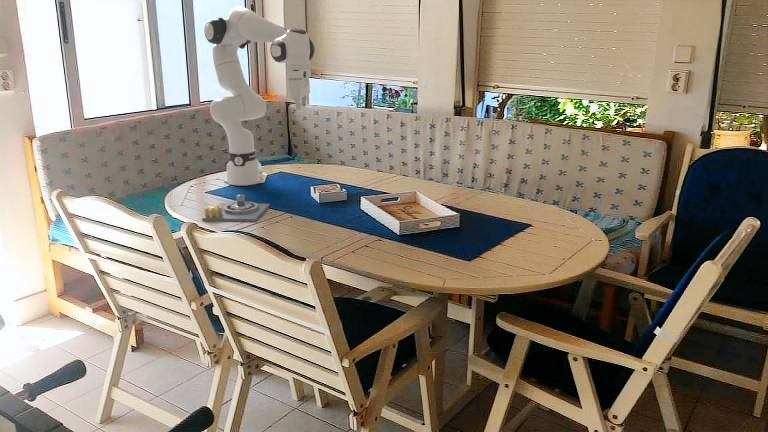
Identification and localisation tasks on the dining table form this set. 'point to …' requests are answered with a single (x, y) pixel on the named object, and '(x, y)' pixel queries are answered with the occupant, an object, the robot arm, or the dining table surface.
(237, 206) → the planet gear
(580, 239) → the dining table surface
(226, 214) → the carrier board
